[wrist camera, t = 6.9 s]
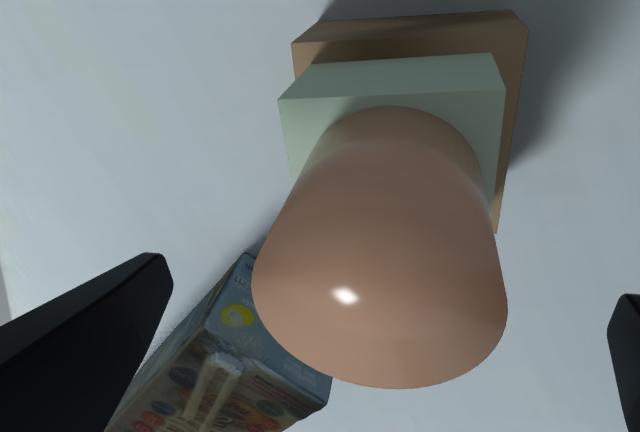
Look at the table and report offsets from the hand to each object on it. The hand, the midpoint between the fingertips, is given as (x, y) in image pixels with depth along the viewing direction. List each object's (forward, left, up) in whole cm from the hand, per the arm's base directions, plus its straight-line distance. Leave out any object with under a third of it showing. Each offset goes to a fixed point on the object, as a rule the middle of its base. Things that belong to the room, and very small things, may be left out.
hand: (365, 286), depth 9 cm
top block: (0, 0, -8) cm, 8 cm away
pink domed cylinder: (0, 0, -4) cm, 4 cm away
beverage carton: (+12, +18, -12) cm, 24 cm away
